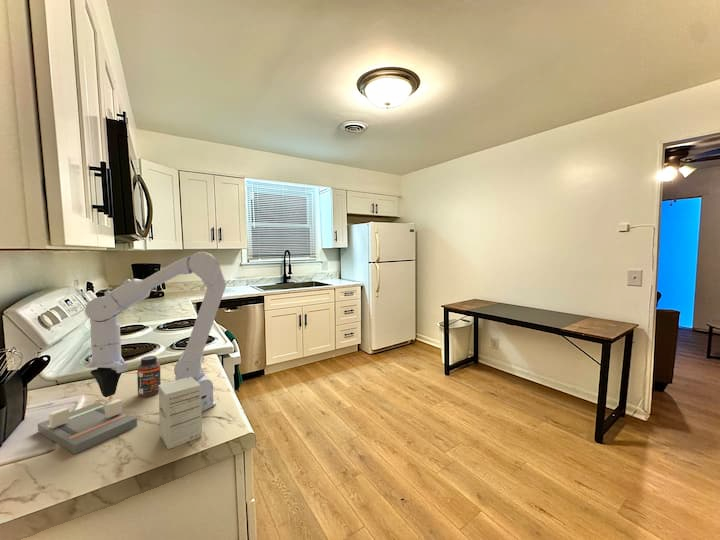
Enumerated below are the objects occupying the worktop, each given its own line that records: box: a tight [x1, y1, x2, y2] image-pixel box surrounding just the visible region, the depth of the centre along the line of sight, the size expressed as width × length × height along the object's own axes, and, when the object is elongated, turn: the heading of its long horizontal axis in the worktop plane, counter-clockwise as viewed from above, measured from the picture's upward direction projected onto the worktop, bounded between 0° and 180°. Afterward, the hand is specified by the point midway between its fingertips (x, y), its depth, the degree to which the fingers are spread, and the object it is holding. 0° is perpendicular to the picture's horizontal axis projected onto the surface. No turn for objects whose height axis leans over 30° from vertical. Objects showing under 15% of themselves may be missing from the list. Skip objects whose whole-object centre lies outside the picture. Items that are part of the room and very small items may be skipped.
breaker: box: [48, 407, 70, 428], centre depth 71 cm, size 2×3×3 cm, turn 154°
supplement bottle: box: [136, 355, 162, 398], centre depth 93 cm, size 6×6×11 cm
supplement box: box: [158, 377, 203, 450], centre depth 70 cm, size 7×7×13 cm
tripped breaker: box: [104, 398, 123, 418], centre depth 76 cm, size 2×3×3 cm, turn 154°
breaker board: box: [37, 401, 138, 455], centre depth 74 cm, size 19×12×2 cm, turn 64°
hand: (109, 395), depth 77 cm, fingers closed
